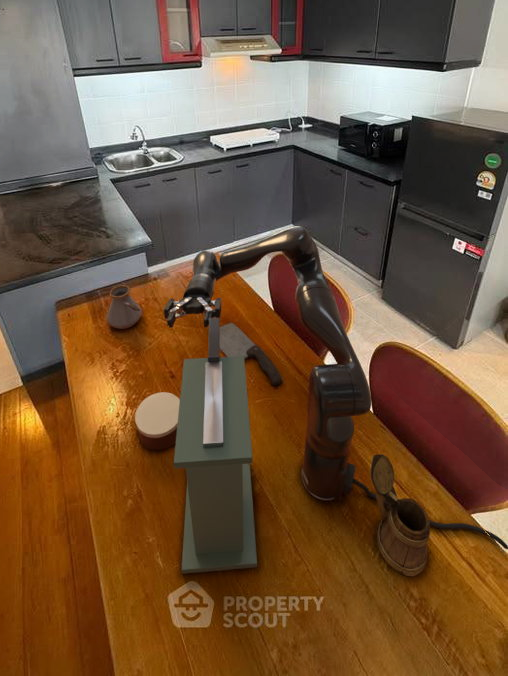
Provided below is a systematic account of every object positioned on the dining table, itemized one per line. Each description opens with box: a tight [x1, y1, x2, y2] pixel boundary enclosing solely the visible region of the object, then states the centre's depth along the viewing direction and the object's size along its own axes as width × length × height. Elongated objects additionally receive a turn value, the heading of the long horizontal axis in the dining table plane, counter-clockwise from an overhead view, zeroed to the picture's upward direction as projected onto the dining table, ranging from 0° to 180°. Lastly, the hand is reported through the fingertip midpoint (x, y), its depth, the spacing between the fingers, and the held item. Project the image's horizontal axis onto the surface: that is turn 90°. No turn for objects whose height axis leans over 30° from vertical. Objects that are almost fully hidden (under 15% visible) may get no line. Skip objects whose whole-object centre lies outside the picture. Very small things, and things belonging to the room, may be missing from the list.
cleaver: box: [219, 321, 283, 387], centre depth 117 cm, size 29×10×2 cm, turn 37°
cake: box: [134, 391, 180, 451], centre depth 94 cm, size 11×11×6 cm
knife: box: [203, 317, 224, 448], centre depth 71 cm, size 27×3×2 cm, turn 4°
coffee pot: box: [106, 284, 144, 330], centre depth 124 cm, size 21×12×15 cm, turn 39°
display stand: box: [173, 356, 258, 575], centre depth 73 cm, size 21×14×32 cm, turn 4°
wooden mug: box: [370, 453, 431, 577], centre depth 72 cm, size 9×14×18 cm, turn 41°
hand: (187, 324), depth 90 cm, fingers open, 8 cm apart
